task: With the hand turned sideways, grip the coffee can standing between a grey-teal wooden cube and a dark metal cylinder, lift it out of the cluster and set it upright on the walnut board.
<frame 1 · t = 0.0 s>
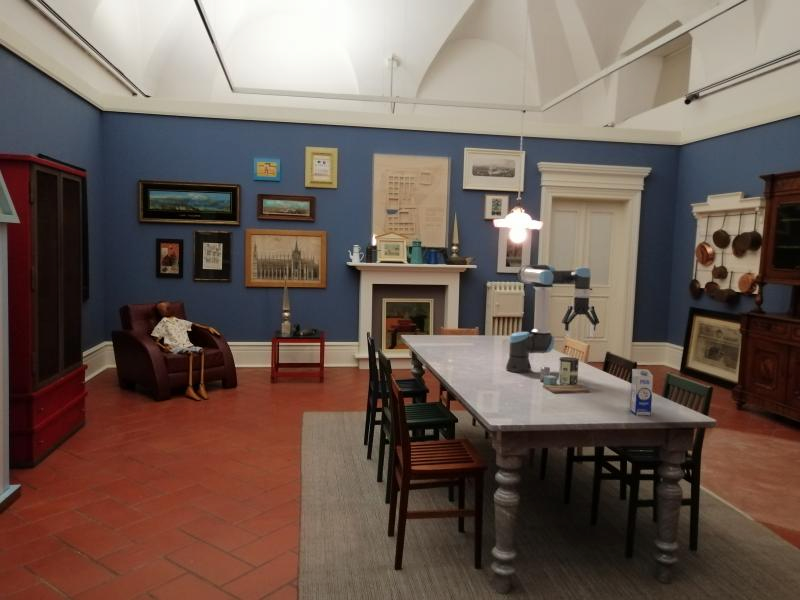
hand: (579, 336, 304), 28 cm above the table, tool pointing down, fingers open, 13 cm apart
teal cube: (550, 385, 313), on the table
milk carton: (640, 414, 260), on the table
walnut board: (565, 389, 304), on the table
metal cylinder: (544, 381, 322), on the table
coffee can: (567, 384, 318), on the table
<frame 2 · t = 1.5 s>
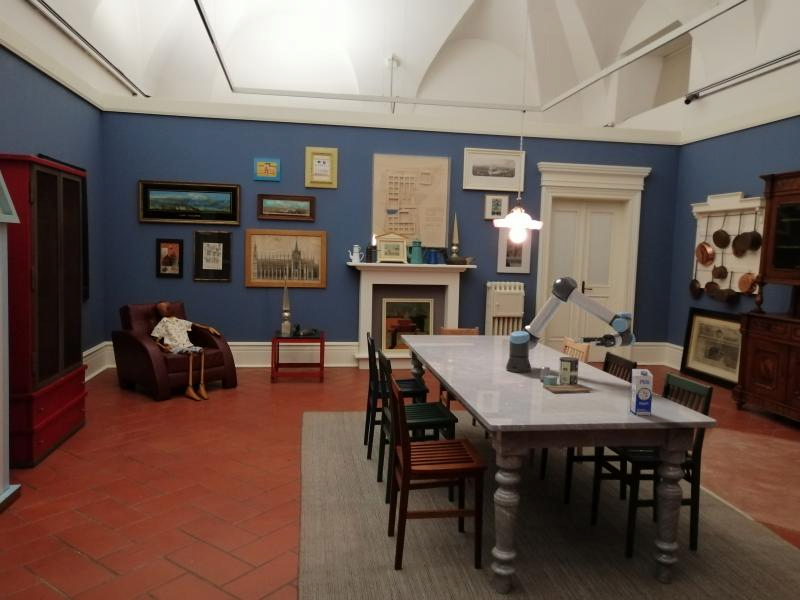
hand: (582, 342, 320), 22 cm above the table, tool horizontal, fingers open, 13 cm apart
nothing on the table moved.
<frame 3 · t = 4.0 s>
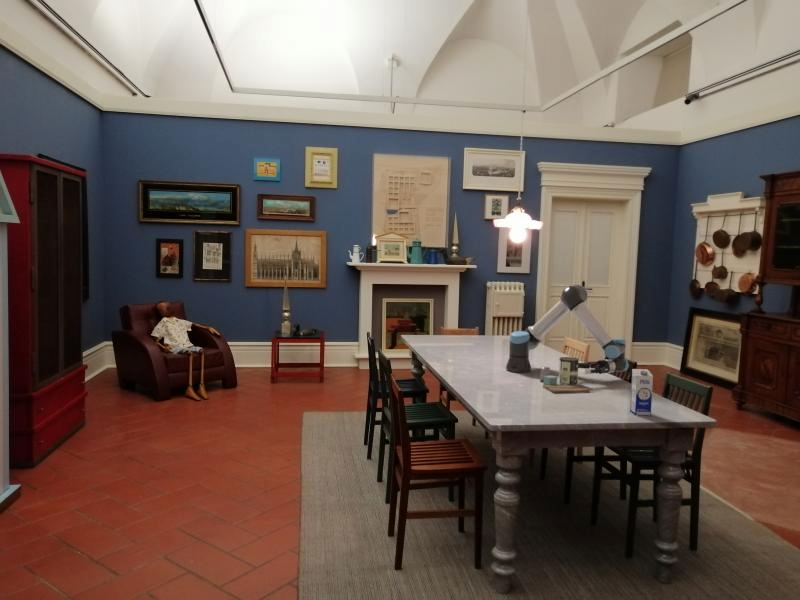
hand: (576, 369, 319), 8 cm above the table, tool horizontal, fingers open, 13 cm apart
nothing on the table moved.
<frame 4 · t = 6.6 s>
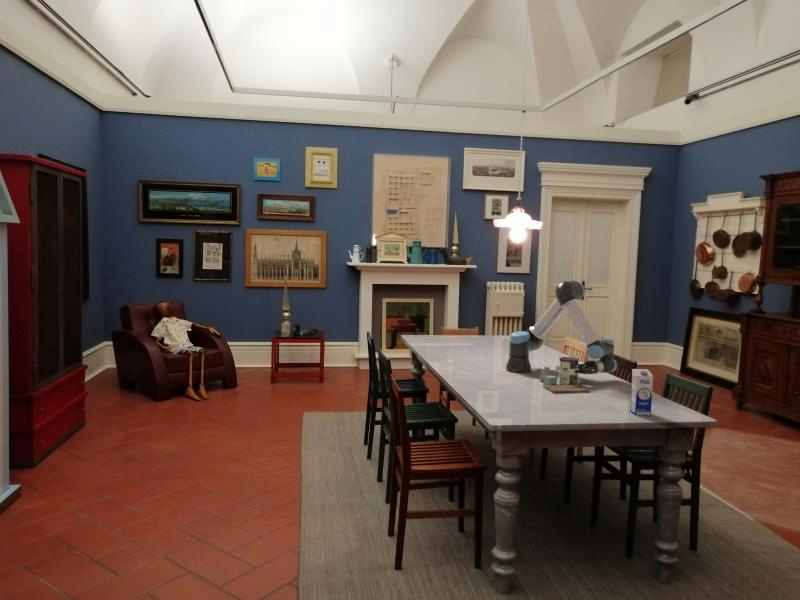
hand: (562, 369, 316), 8 cm above the table, tool horizontal, fingers closed on coffee can, 10 cm apart
coffee can: (567, 384, 318), on the table, touching gripper
everything else where it was.
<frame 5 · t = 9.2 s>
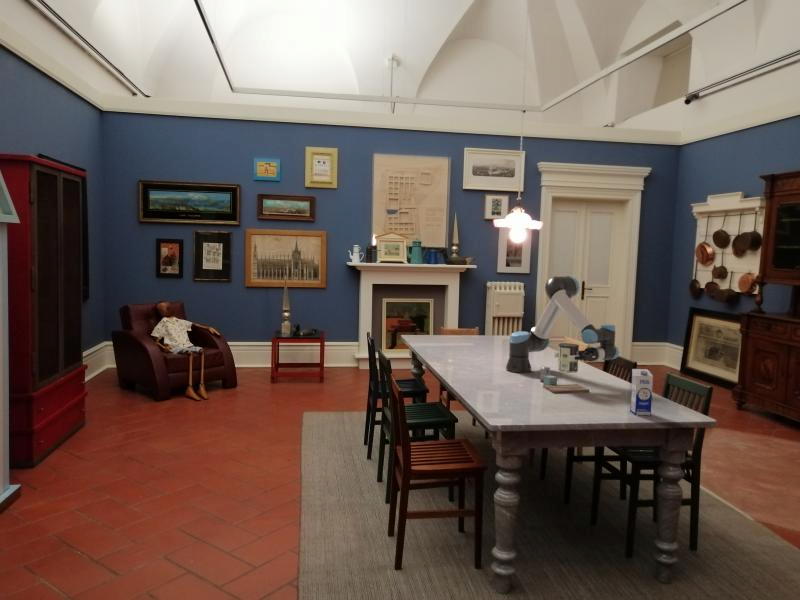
hand: (561, 356, 300), 18 cm above the table, tool horizontal, fingers closed on coffee can, 10 cm apart
coffee can: (567, 371, 303), point 10 cm above the table, touching gripper
everything else where it was.
when the fingers open (10 cm above the table, at t = 12.0 s): coffee can drops 1 cm, resting on walnut board.
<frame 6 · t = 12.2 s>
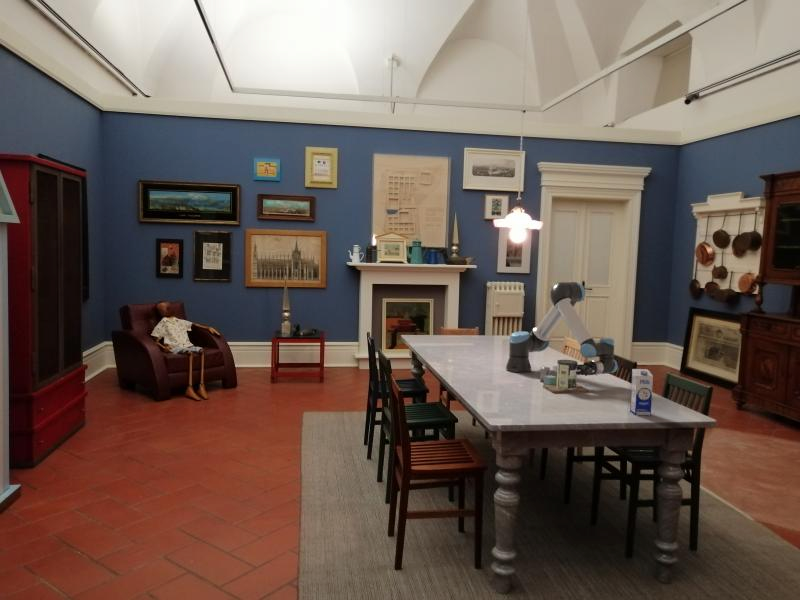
hand: (561, 370, 301), 10 cm above the table, tool horizontal, fingers open, 12 cm apart
coffee can: (566, 387, 303), point 1 cm above the table, touching walnut board
everything else where it was.
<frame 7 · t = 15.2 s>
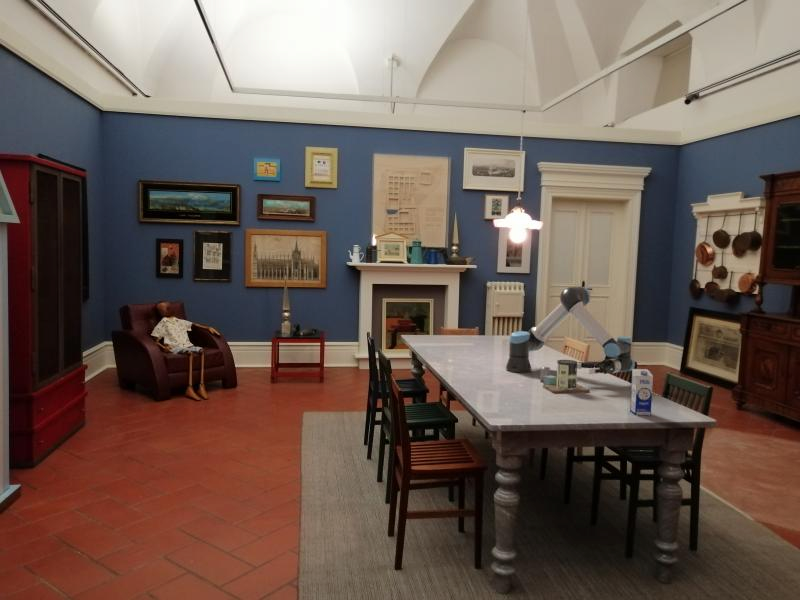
hand: (580, 368, 307), 11 cm above the table, tool horizontal, fingers open, 13 cm apart
nothing on the table moved.
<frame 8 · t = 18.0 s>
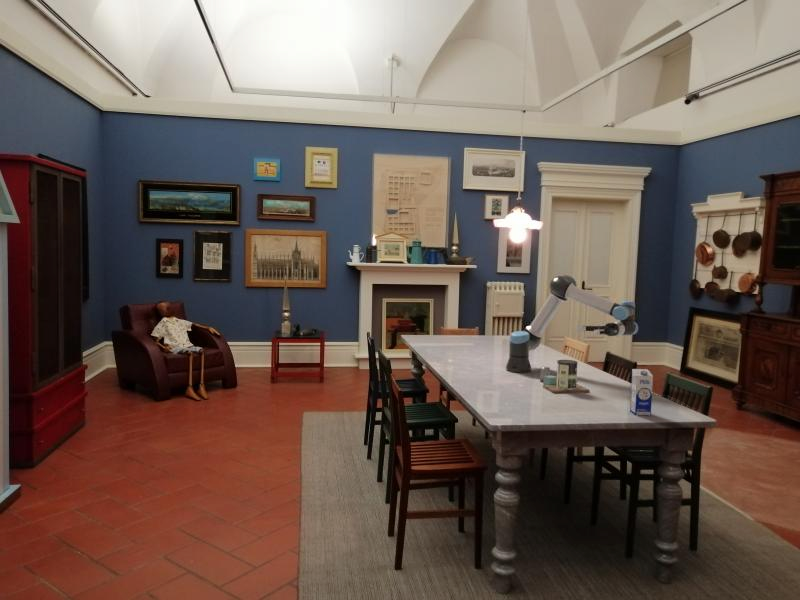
hand: (585, 330, 313), 30 cm above the table, tool horizontal, fingers open, 13 cm apart
nothing on the table moved.
at the end: coffee can inside the target area on the walnut board (0.1 cm from its centre), point 1.0 cm above the walnut board's base; coffee can tilted 0°; the gripper is holding nothing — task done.
